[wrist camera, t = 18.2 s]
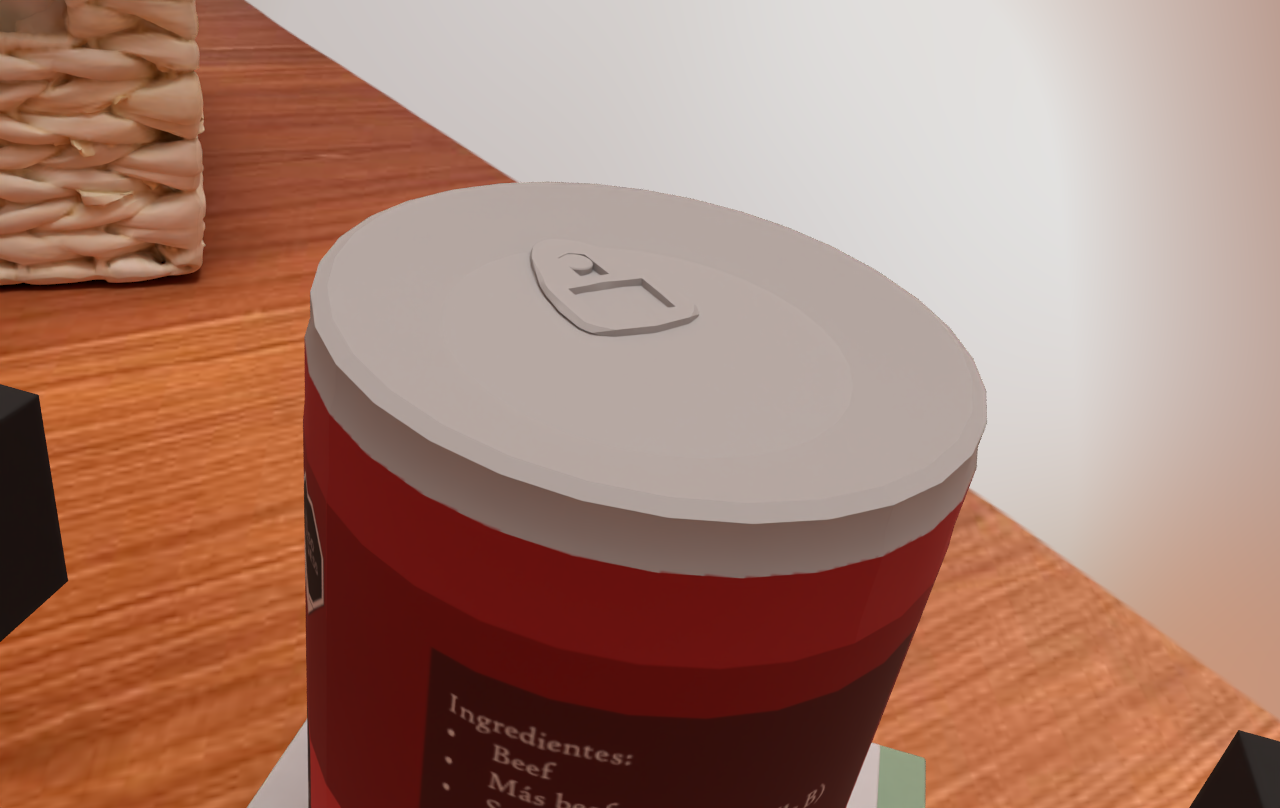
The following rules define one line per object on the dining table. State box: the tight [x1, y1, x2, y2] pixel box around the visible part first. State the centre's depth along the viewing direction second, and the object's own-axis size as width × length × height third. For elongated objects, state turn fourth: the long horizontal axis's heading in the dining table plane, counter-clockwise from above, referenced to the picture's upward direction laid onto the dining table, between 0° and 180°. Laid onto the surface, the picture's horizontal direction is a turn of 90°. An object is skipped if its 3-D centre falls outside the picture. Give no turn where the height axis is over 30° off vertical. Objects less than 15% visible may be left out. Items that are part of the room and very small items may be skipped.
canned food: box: [303, 182, 987, 808], centre depth 15 cm, size 8×8×11 cm
